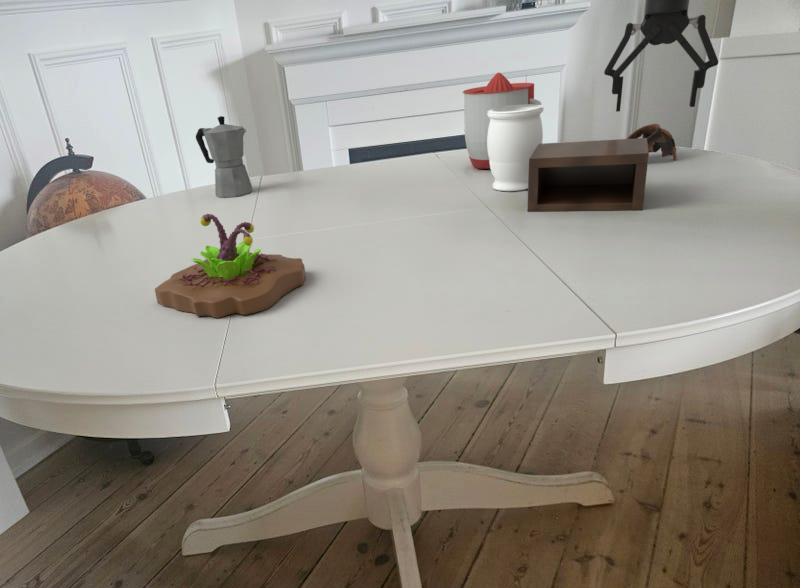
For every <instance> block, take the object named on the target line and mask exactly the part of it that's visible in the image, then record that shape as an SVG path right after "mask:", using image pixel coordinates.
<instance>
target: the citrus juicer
mask: <svg viewBox="0 0 800 588" xmlns="http://www.w3.org/2000/svg"><path fill="white" fill-rule="evenodd" d="M462 93H463V110H464V111H463V112H464V113H463V114H464V115H463V116H464V120H463V121H464V140H465V145H466V146H465V147H466V150H467V153H468V158H469V161H470V163H471V165H472V167H474V168H476V169H477V170H485V169H490V162H489V156H488V149H487V135H488V128H489V123H490V118H489V117H488V115H487V113H488V112H487V111H489V110H492V109H495V108H500V107H505V106H513V105H527V104H534V105H542V106H543V104H542V102H541V101H540V100H538V99H535V82H534V83H533V82H512V83H511V82H510V81H509V80H508V78H507V77H506V76H505V75H504V74H502V72H497V73H495V74H494V76H492V78H491V79H490V80H489V82H488V83H487V84H486V85H484V86H477V87H471V88H468V89H465V90H463V91H462Z"/></svg>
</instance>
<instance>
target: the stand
mask: <svg viewBox="0 0 800 588" xmlns="http://www.w3.org/2000/svg"><path fill="white" fill-rule="evenodd" d="M649 156H650V153H649V151H648V144H647V138H643V137H639V138H637V139H627V138H620V139H619V138H618V139H603V140H601V139H600V140H581V141H565V142H547V143H542V144H538V146H537V147H536V149H535V150H534V152H533V154H532V155H531V157H530V158H529V178H528V189H527V212H528V213H529V212H531V213H532V212H591V211H592V212H597V211H601V212H602V211H604V212H605V211H643V210H644V200H645V190H646V182H647V174H648V164H649Z"/></svg>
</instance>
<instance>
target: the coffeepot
mask: <svg viewBox="0 0 800 588" xmlns="http://www.w3.org/2000/svg"><path fill="white" fill-rule="evenodd" d="M217 121H218V123H219V125H216V126H214V127H206V128H205V127H200V128H198V130H197V132H196V134H195V140H196V142H197V144H198V146H199V149H200V151H201V153H202V155H203V157H204V159H205V162H206V163H207V164H215V169H214V182H215V183H214V184H215V188H214V189H215V197H217V198H223V199H227V198H235V197H241V196H246V195H248V194H250V193H252V191H253V190H254V188H253V185H252V183H251V180H250V176H249V174H248V170H247V167H246V165H245V163H244V161H243V157H244V155H245V154H244V153H245V151H244V135H245V133H247V128H245V127H243V126H241V125H234V124H227V123H225V116H223V115H219V116H218V117H217ZM203 137H204V138H203ZM204 139H205V140H204ZM205 141H206V144H205ZM206 145H207V147H208V149H207V147H206ZM208 150H209V151H208ZM209 153H210V155H209ZM210 156H211V157H210Z"/></svg>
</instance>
